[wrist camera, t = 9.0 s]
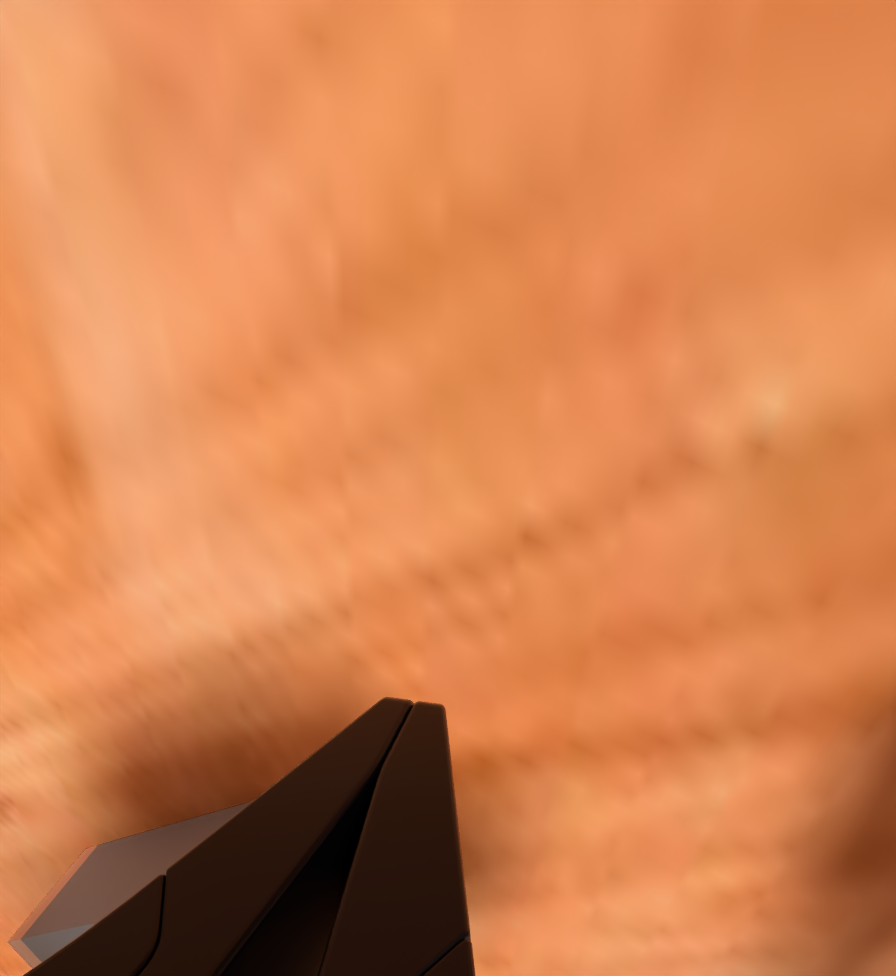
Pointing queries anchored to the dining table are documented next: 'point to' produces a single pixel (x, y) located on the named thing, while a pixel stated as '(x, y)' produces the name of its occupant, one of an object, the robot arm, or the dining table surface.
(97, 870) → the charcoal block
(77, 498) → the dining table surface
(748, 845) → the dining table surface
